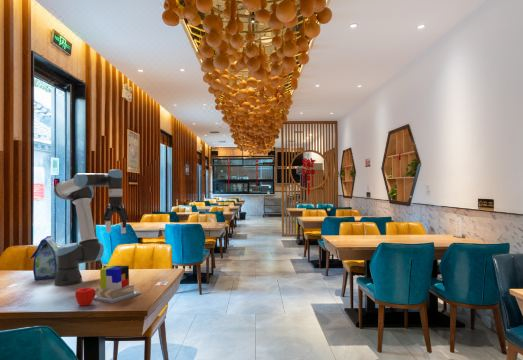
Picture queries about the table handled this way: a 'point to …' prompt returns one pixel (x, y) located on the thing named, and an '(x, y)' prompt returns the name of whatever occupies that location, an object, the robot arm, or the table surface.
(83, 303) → the apple
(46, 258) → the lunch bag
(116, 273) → the puzzle toy
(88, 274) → the table surface
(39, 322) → the table surface
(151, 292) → the table surface
